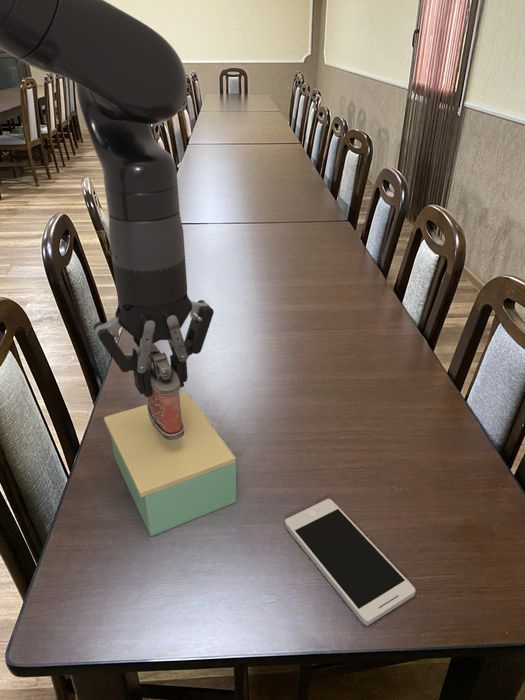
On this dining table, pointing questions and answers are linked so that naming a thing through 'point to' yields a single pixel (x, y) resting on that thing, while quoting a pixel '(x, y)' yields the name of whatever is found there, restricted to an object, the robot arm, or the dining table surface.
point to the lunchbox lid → (167, 447)
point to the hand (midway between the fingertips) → (162, 388)
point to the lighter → (164, 397)
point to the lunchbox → (182, 497)
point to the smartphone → (350, 561)
